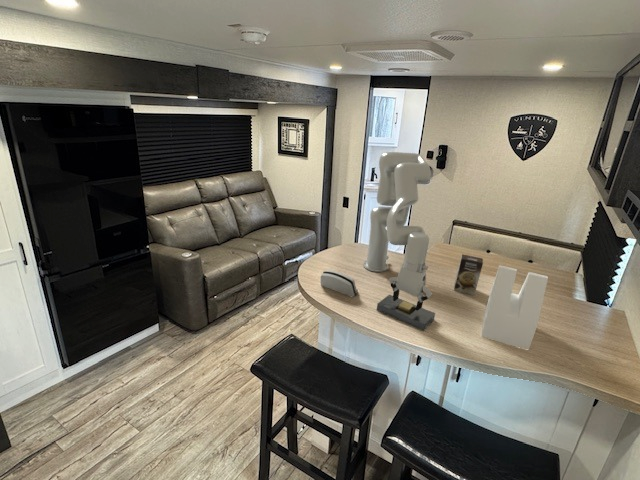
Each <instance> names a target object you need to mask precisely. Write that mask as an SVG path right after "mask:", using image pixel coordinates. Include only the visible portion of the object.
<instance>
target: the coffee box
mask: <svg viewBox="0 0 640 480" xmlns="http://www.w3.org/2000/svg"><path fill="white" fill-rule="evenodd" d="M483 265H484V259H483V258H482V257H476V256H473V255H468V254H463V253H462V254H461V256H460V260H459V265H458V267H457V273H456V277H455V281H454V285H453V291H456V292H460V293H464V294H469V295H473V296H474V295H475V294H476V291H477V290H476V289H477V287H478V284H479V279H480V277H481V272H482V268H483Z"/></svg>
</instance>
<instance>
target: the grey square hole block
mask: <svg viewBox="0 0 640 480" xmlns="http://www.w3.org/2000/svg"><path fill="white" fill-rule="evenodd" d="M403 301H405V302H407V303H410V304H413V305H414V307H413V313H412V314H411V315H409V314H407V313H404V312H402V311H400V310H398V306H399V305H400V304H401V303H402V302H403ZM416 306H417V304H415V303H412V302H409V301H406V300H404V299H402V298H400V297H398V299H397V300H396V301H393V294H388V295H387V296H385V298H383V299H381V300H380V301H379V302H377V305H376V311H377V312H380V313H382V314H385V315H386V316H388V317H392V318H393V319H396V320H397V321H400V322H402V323H405V324H407V325H409V326H411V327H414V328H416V329H418V330H420V331H423V332H424V331H425V330H426V329H427V328H428V327H429V326H430V325H431V324H432V323H433V321H434V320H435V317H436V312H434V311H431V310H429V309H426V308H423V307H422V308H421V309H419V310H418V311H417V310H416Z"/></svg>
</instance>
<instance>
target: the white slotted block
mask: <svg viewBox="0 0 640 480" xmlns="http://www.w3.org/2000/svg"><path fill="white" fill-rule="evenodd" d="M516 276H517V268H513V267H509V266H504V265H500V264H499V265H498V268H497V271H496V275H495V277H494V279H493V283H492V286H491V289H490V291H489V292H490V293H489V296H488V299H487V300H488V301H487V303H486V307H485V310H484V316H483V321H482V330H481V334H480V337H481V338H485V339H488V338H489V339H488V340H491V339H493V340H492V341H494V340H496V341H495V342H498V341H500V342H499V343H501V342H503V343H502V344H504V343H506V344H505V345H507V344H510V345H513V346H517V347H520V348H524V349H528V350H530V348H531V345H532V343H533V339H534V336H535V333H536V330H537V327H538V325H539V321H540V315H541V311H542V307H543V303H544V297H545V293H546V289H547V285H548V280H549V277H548V276H547V275H545V274H544V275H543V274H539V273H535V272H531V271H529V272H528V273H527V275H526V277H525V279H524V281H523V284H522V286H521V288H520V290H519V293H514V292H513V289H514V285H515V280H516ZM510 345H509V346H510ZM513 346H512V347H513ZM517 347H516V348H517ZM520 348H519V349H520Z"/></svg>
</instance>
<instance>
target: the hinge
mask: <svg viewBox="0 0 640 480" xmlns="http://www.w3.org/2000/svg"><path fill="white" fill-rule="evenodd" d="M320 286H321V287H324V288H328V289H329V290H333V291H336V292H338V293H341V294H343V295H346V296H349V297H355V294H358V293H359V291H358V290H359V289H358V288H357V286H356V283H355V279H354V278H351V277H350V276H348V275H347V274H344V273H342V272H339V271H336V270H330V269H329V270H328V269H325V270H324V271H323V273H321V274H320Z"/></svg>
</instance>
